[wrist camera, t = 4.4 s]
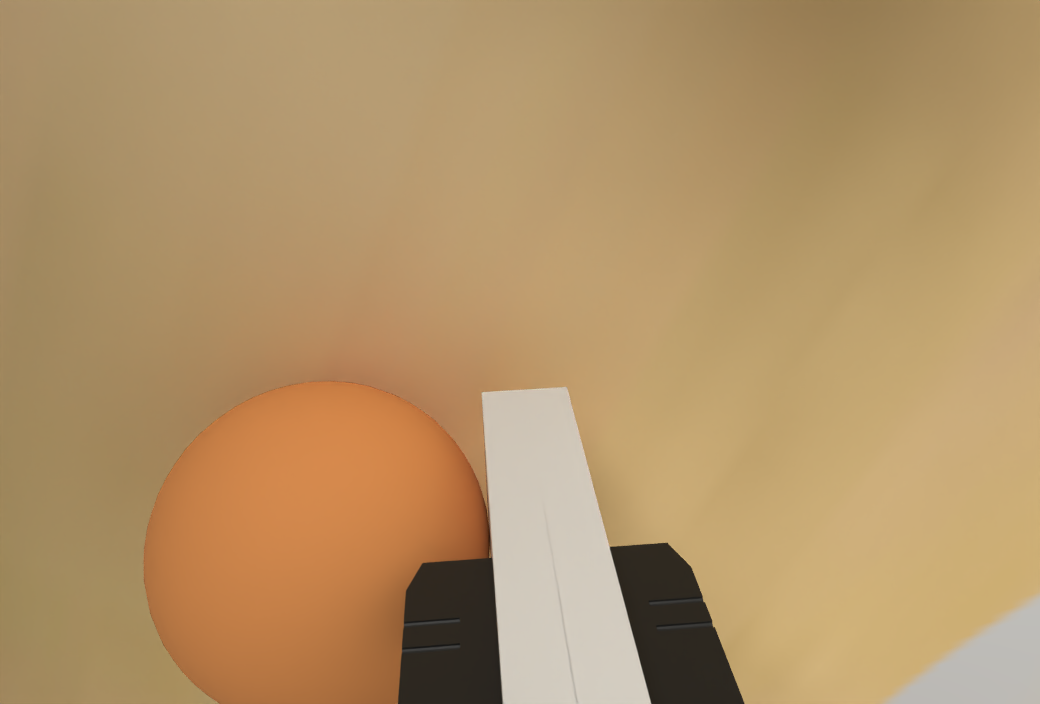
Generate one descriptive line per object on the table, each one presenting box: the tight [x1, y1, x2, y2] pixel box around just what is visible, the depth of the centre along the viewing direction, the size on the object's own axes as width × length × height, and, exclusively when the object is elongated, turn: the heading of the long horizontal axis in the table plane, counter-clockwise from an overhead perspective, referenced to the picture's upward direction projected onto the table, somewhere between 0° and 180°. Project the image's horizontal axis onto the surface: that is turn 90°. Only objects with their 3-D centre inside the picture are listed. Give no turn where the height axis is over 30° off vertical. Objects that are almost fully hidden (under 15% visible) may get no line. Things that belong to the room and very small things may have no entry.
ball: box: [144, 381, 490, 704], centre depth 13 cm, size 6×6×6 cm
